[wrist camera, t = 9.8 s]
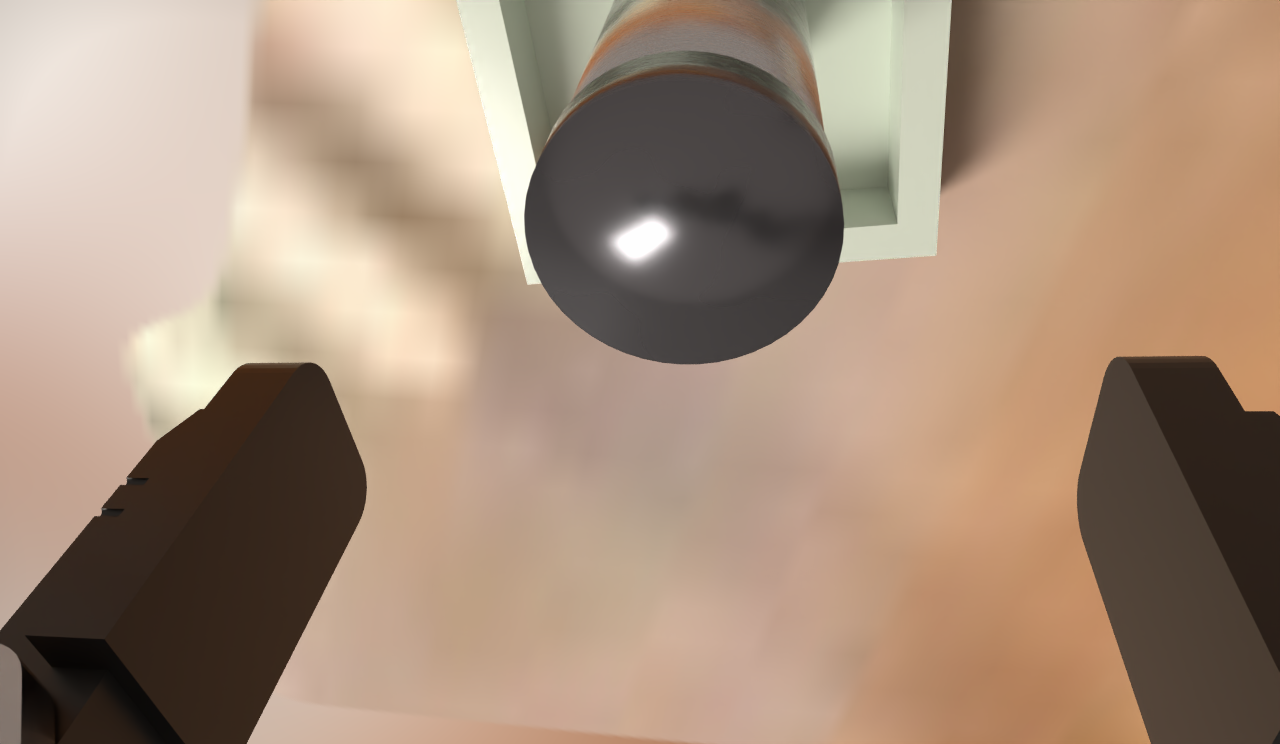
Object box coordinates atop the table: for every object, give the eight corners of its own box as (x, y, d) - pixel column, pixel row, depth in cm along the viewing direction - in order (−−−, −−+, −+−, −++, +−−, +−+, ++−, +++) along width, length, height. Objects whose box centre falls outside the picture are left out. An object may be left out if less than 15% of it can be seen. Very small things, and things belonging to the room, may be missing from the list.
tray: (942, -264, 19) (967, -259, 17) (920, 206, 25) (936, 255, 23) (450, -184, 21) (413, -169, 19) (545, 236, 27) (527, 284, 25)
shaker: (804, -107, 20) (842, 60, 12) (811, 97, 23) (846, 355, 14) (599, -77, 21) (489, 100, 12) (631, 117, 24) (559, 372, 15)
